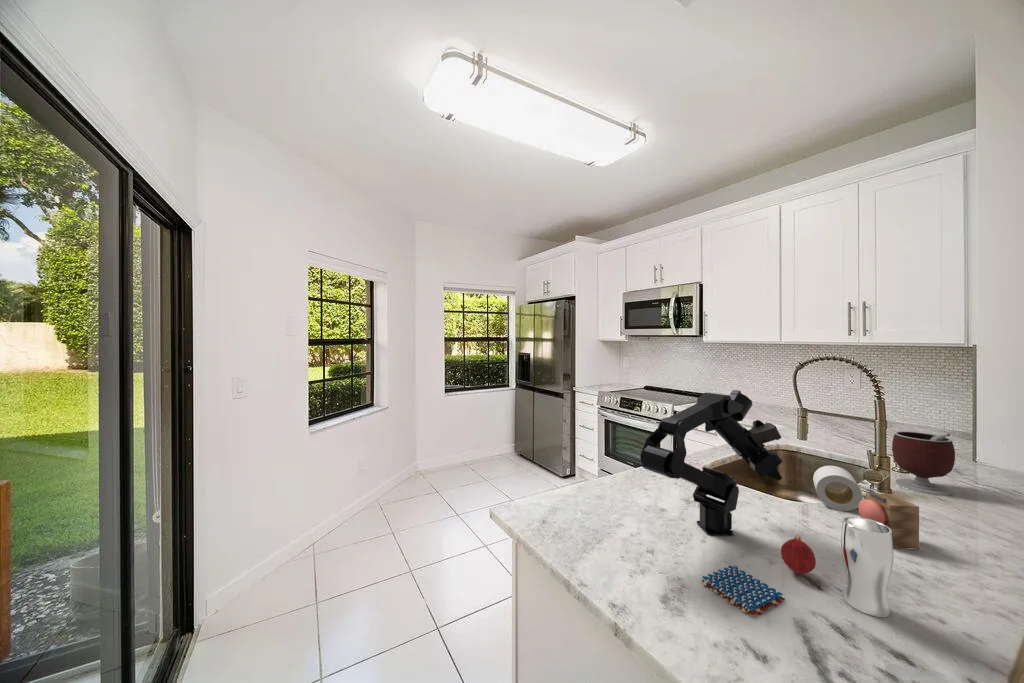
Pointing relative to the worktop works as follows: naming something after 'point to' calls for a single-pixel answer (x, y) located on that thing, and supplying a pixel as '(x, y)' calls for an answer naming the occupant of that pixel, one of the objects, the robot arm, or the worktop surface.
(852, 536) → the beer glass
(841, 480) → the toilet paper
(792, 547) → the onion
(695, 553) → the worktop surface
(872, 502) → the knob
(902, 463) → the mate gourd
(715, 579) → the woven mat
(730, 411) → the robot arm
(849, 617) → the worktop surface
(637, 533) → the worktop surface
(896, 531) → the catch block
